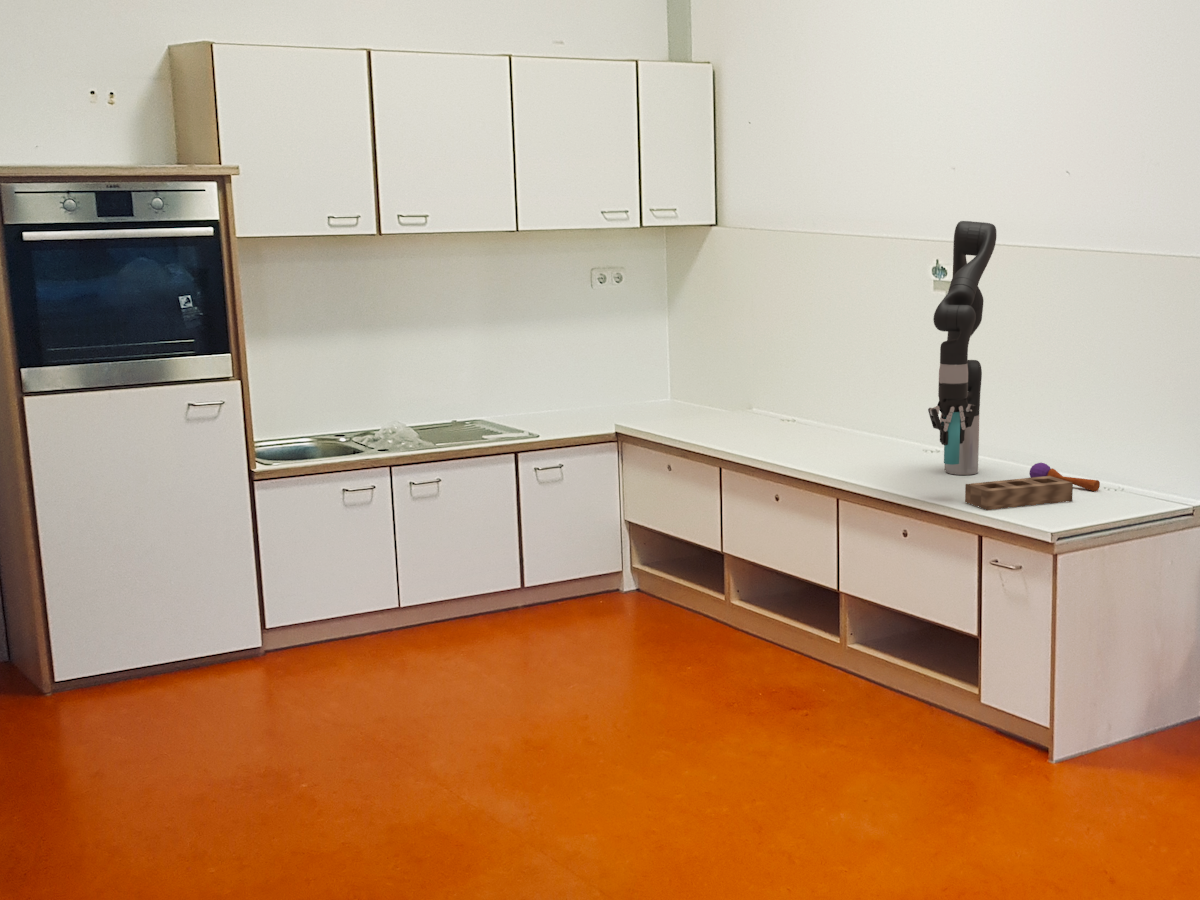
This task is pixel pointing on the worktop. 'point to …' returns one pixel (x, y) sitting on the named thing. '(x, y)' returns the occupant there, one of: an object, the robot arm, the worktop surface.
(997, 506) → the bore block
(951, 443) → the pin
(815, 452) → the worktop surface
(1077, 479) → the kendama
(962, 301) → the robot arm
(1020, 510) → the worktop surface
